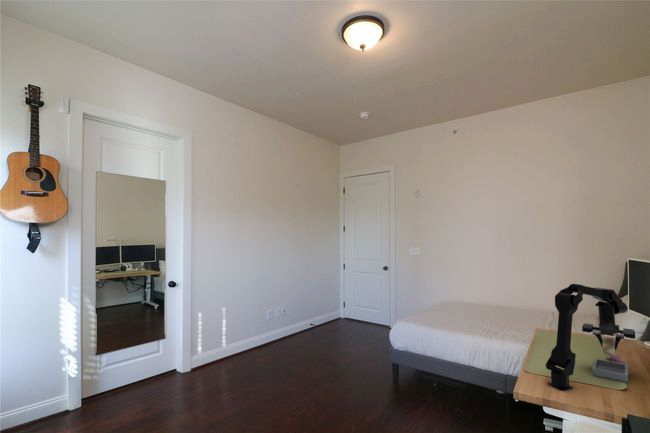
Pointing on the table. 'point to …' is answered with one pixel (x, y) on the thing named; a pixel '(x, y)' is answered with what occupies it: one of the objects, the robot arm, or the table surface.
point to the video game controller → (617, 359)
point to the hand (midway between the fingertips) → (609, 349)
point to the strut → (608, 346)
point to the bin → (610, 370)
